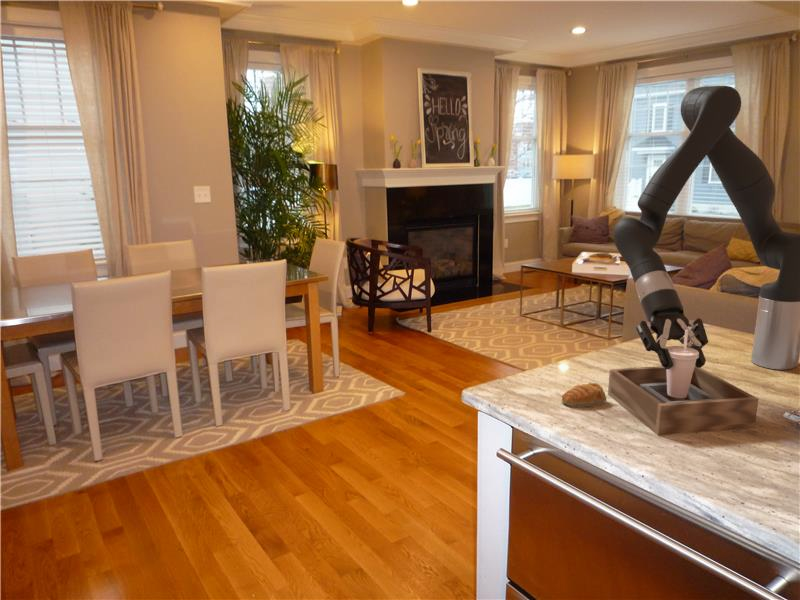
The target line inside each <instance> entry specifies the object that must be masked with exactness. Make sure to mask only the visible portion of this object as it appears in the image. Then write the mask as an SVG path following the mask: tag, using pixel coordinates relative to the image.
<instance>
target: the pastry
mask: <svg viewBox="0 0 800 600" xmlns="http://www.w3.org/2000/svg"><path fill="white" fill-rule="evenodd" d="M561 398H562V399H561V403H563V404H565V405H566V406H569V407H572V408H590V407H594V406H593V405H595V406H599V404H600V405H603V404H604V403H606V402H607V396H606V393H605V391H604V388H603V387H602V386H601V385H600V384H599V383H597V382H588V383H587V384H585V383H584V384H576V385H574V387H572V388H570V389H569V390H567V391H565V392H564V393H563V394H562V396H561ZM578 406H579V407H578ZM580 406H581V407H580ZM583 406H584V407H583Z"/></svg>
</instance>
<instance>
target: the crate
mask: <svg viewBox="0 0 800 600" xmlns="http://www.w3.org/2000/svg"><path fill="white" fill-rule="evenodd" d="M608 374H609V375H608V376H609V378H608V390H607V396H609V397H610V398H611V399H613V401H615V402H616V403H617V404H618V405H620V407H623V408H624V409H625V410H626V411H627V412H629V414H631V415H632V416H634V417H635V418H636V419H637V420H639V421H640V422H641V423H642V424H644V426H646V427H647V428H648V429H649V430H651V431H652V432H653V433H655V435H657V436H667V435H678V434H690V433H692V434H693V433H704V432H706V433H707V432H716V431H717V432H719V431H731V430H743V429H744V430H745V429H755V428H756V422H757V421H756V420H757V413H758V408H759V407H758V406H759V405H758V404H759V398H758V397H756V396H754V395H753V394H750V393H749V392H747V391H745V390H743V389H741V388H740V387H737V386H736V385H734V384H732V383H730V382H728V381H726V380H724V379H722V378H721V377H718V376H717V375H715V374H713V373H712V372H709V371H708V370H706V369H705V368H702V367H701V368H697V367H696V365H695V367H694V371H693V375H692V379H691V382H690V386H689V390H688V394H687V397H686V398H674V397H671V396H669V395H668V394H667V372H666V369H665V368H664V367H663V366H662V365H658V366H645V367H644V366H642V367H641V366H640V367H629V368H628V367H627V368H610V369H609V373H608Z"/></svg>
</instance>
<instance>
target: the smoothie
mask: <svg viewBox="0 0 800 600" xmlns="http://www.w3.org/2000/svg"><path fill="white" fill-rule="evenodd" d="M684 337H685V339H684V344H683V346H682V345H670V346H666V348H665V349H668V352H669V354H670V357H671V359H672V362H673V367H671V368H670V369H666V372H667V394H668V395H669V396H671V397H674V398H686V397H687V394H688V390H689V386H690V382H691V379H692V375H693V371H694V367H695V363H696V359H698V358H699V352H698V351H697V350H695V349H693V348H689V347H687V339H688V330H685V335H684Z"/></svg>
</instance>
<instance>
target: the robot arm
mask: <svg viewBox="0 0 800 600" xmlns="http://www.w3.org/2000/svg"><path fill="white" fill-rule="evenodd" d="M741 108H742V99H741V95H740V93H739V91H737V89H736V88H734V87H732V86H729V85H710V86H708V85H707V86H706V85H705V86H699V87H695V88H693V89H691V90H689V91H688V92H686V94H685V95H684V96H683V98H682V100H681V104H680V116H681V118H682V121H683V123H684V125H685V126H686V128H687V129H688V131H689V132H690V133H689V134H688V136H687V137H686V139H685V140H684V141H683V143H682V144H681V145H680V146H679V147H678V148H677V149H676V150H675V151H674V153H672V155H670V156H669V157H668V158H667V159H666V160H665V161H664V162H663V163H662V164H661V165H660V166H658V169H657V170H656V171H655V172H654V174H653V175H652V176H651V178H650V180H649V181H648V183H646V184H647V185H646V186H645V188H644V189H643V191H642V193H641V194H640V197H638V200H637V206H638V208H639V210H640V211H641V213H640V218H639V219H637V218H634V217H625V218H622V219H620V220H619V221H618V222H617V223H616V224H615V225H614V229H613V233H612V237H613V242H614V245H615V247H616V249H617V251H618V252H619V254H620V256H621V257H622V260H623V261H624V262H625V264H626V265H627V266H628V268H629V271H630V273H631V274H630V275H631V277H632V279H633V282H634V284H635V289H636V293H637V296H638V300H639V302H640V305H641V308H642V310H643V313H644V316H645V318H646V320H647V321H645V320H641V321H640V322H639V324H638V325H637V326H636V327H635V329H636V332H637V333H638V336H639V338H640V340H641V342H642V344H643V345H644V348H645V350H646V351H647V352H654V353H656V354H657V358H658V359H659V362H660V366H663V367H664V368H665V369H670V368H671V367H673V362H672V359H671V357H670V354H669V352H668V349H665V348H666V347H667V343H668V341H670V340H674V341H679V342H680V343H681V345H684V339H685V330H688V339H687V347H689V348H693V349H695V350H697V351H698V352H699V358H698V359H696V363H695V365H696V367H697V368H702V367H703V366H705V365H706V362H707V359H706V357H705V355H704V352H703V350H702V349H703V348H704V347H705V345H707V344H708V343H709V339H708V336H707V333H706V330H705V325H704V321H703V320H702V319H701V318H699V317H698V318H696V319H694V320H693V319H689V318H687V316H685V314H684V313H685V311H684V307H683V304H682V301H681V299H680V297H679V294H678V292H677V289H676V287H675V285H674V282H673V280H672V279H671V277H670V275H669V273H668V270H667V268H666V265H665V264H664V261H663V259H662V257H661V256H660V254H658V252H656V251H655V250H654V249H655V247H656V246H657V244H658V242H659V240H660V238H661V235H662V232H663V229H664V226H665V224H666V220H667V216H668V213H669V211H670V210H671V208H672V206H673V205H674V203H675V202H676V200H677V198H678V197H679V195H680V193H681V192H682V190H683V188H684V187H685V185H686V184H687V182H688V181H689V179H690V178H691V177H692V175H693V174H694V172H695V171H696V169H697V168H698V166H700V164H701V163H702V161H703V160H704V159H705V158H706V156H707V158H708V161H709V163H710V164H711V166H712V168H713V170H714V172H715V173H716V175H717V177H718V179H719V180H720V182H721V184H722V187H723V189H724V190H725V193H726V194H727V195H728V198H729V200H730V201H731V203H732V204H733V206H734V208H735V210H736V211H737V213H738V216H739V217H740V219H741V222H742V224H743V226H744V227H745V229H746V231H747V234H748V237H749V238H750V241H751V244H752V247H753V249H754V252H755V255H756V257H757V258H758V261H759V262H760V263H761V264H762V265H764V266H765V267H767V268H770V269H774V270H778V271H779V272H778V276H777V279H776V280H775V281H772V282H768V283H767V282H766V283H763V284H762V285H761V287H760V290H759V296H758V297H759V298H758V305H757V313H756V320H755V321H756V322H755V328H754V335H753V344H752V350H751V359H750V361H751V362H752V363H753V364H754V365H756V366H758V367H759V366H760V367H761V368H765V369H772V370H784V371H785V370H792V369H794V368H795V367H798V365H799V360H800V359H799V358H800V233H795V232H789V231H788V232H787V231H783V230H782V228H781V227H780V226H779V224H778V222H777V221H776V219H775V216H774V215H773V205H774V202H775V196H776V186H775V182H774V180H773V178H772V176H771V174H770V172H769V170H768V168H767V166H766V165H765V164H764V163H765V162H763V161H762V159H761V158H760V157H759V156H758V155H757V153H755V152H754V151H753V150H752V149H750V147H749V146H747V144H745V143H744V142H743V141H742V140H741V139H740V138H738V137H737V136H736V134H735V133H734V131H733V130H732V129H731V126H732V125H733V123H734V122H735V120H736V119H737V118H738V115H740V111H741ZM651 331H653V333H655V335H656V336H655V337H654V335H653V333H652V332H651Z"/></svg>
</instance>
